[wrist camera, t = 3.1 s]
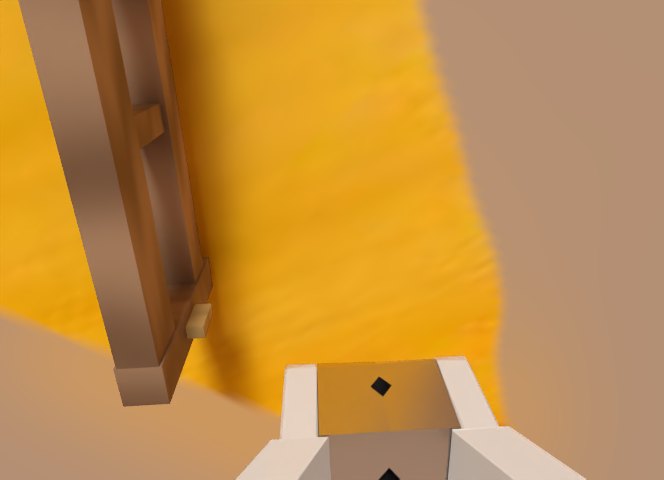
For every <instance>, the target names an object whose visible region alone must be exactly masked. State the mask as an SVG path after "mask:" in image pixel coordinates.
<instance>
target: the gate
mask: <svg viewBox="0 0 664 480" xmlns="http://www.w3.org/2000/svg"><path fill="white" fill-rule="evenodd" d="M19 4H20V8H21V12H22V16H23V19H24V23H25V27H26V31H27V34H28V38H29V42H30V46H31V50H32V53H33V57H34V61H35V65H36V68H37V72H38V76H39V80H40V84H41V87H42V91H43V95H44V99H45V102H46V106H47V110H48V114H49V117H50V121H51V125H52V129H53V133H54V136H55V140H56V144H57V148H58V151H59V155H60V159H61V163H62V167H63V170H64V174H65V178H66V182H67V185H68V189H69V193H70V197H71V201H72V204H73V208H74V212H75V216H76V219H77V223H78V227H79V231H80V234H81V238H82V242H83V246H84V250H85V253H86V257H87V261H88V265H89V268H90V272H91V276H92V280H93V284H94V287H95V291H96V295H97V299H98V302H99V306H100V310H101V314H102V318H103V321H104V325H105V329H106V333H107V336H108V340H109V344H110V348H111V352H112V355H113V359H114V363H115V368H114V373H115V377H116V381H117V384H118V388H119V392H120V395H121V399H122V403H123V406H139V405H155V404H169V403H170V402H171V399H172V395H173V393H174V391H175V388H176V385H177V382H178V380H179V377H180V374H181V371H182V369H183V366H184V363H185V360H186V358H187V355H188V352H189V349H190V347H191V344H192V341H193V338H205V337H206V334H207V331H208V327H209V324H210V321H211V318H212V315H213V311H212V304H211V303H208V304H206V303H207V300H208V297H209V295H210V292H211V289H212V286H213V284H212V278H211V271H210V264H209V258H208V257H206V258H202V255H201V249H200V243H199V236H198V230H197V224H196V217H195V211H194V205H193V198H192V192H191V186H190V179H189V173H188V167H187V160H186V154H185V148H184V141H183V135H182V129H181V122H180V116H179V110H178V103H177V97H176V91H175V84H174V78H173V72H172V65H171V59H170V53H169V46H168V40H167V34H166V27H165V21H164V15H163V8H162V2H161V0H19Z"/></svg>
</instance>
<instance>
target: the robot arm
mask: <svg viewBox="0 0 664 480" xmlns="http://www.w3.org/2000/svg"><path fill="white" fill-rule="evenodd" d="M280 430H281V431H280V439H277V440H270V441H269V442H268V443H267V444H266V445H265V446H264V448H263V449H262V450H261V451H260V452H259V453H258V454H257V455H256V457H255V458H254V459H253V460H252V461H251V462H250V463H249V464H248V466H247V467H246V468H245V469H244V470H243V471H242V472H241V474H240V475H239V476H238V477H237V478H236V479H235V480H587V479H585V478H584V477H582V476H581V475H579V474H578V473H576V472H575V471H574V470H572V469H571V468H569V467H568V466H566V465H565V464H563V463H562V462H560V461H559V460H557V459H556V458H555V457H553V456H551V455H550V454H549V453H547V452H546V451H544V450H543V449H541V448H540V447H539V446H537V445H536V444H534V443H533V442H531V441H530V440H528V439H527V438H525V437H524V436H522V435H521V434H520V433H518V432H517V431H515V430H514V429H512V428H511V427H509V426H504V427H499V425H498V423H497V421H496V418H495V416H494V414H493V412H492V410H491V408H490V406H489V404H488V402H487V400H486V398H485V396H484V394H483V392H482V389H481V387H480V385H479V383H478V381H477V379H476V377H475V375H474V373H473V371H472V369H471V367H470V365H469V363H468V360H467V359H466V358H465V357H464V356H450V357H437V358H433V359H421V360H404V361H387V362H353V363H321V364H317V365H316V364H302V365H287V367H286V369H285V376H284V389H283V403H282V416H281V429H280Z"/></svg>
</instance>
